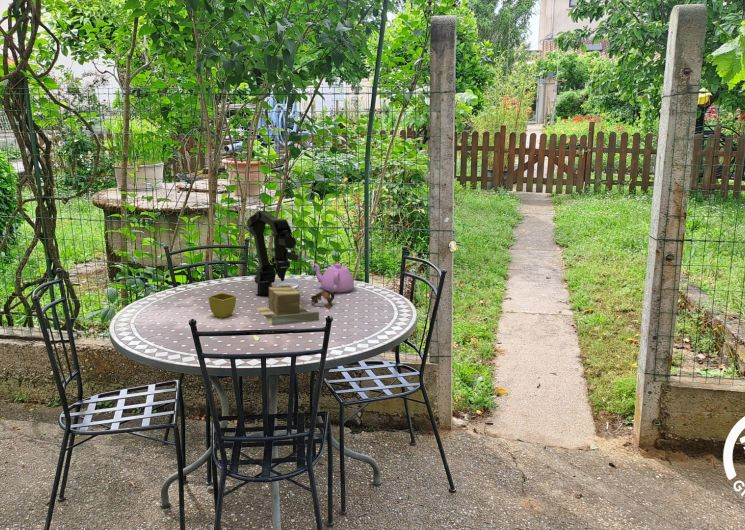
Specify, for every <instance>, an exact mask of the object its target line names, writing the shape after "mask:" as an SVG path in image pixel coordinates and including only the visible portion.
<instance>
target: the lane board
mask: <svg viewBox="0 0 745 530" xmlns="http://www.w3.org/2000/svg"><path fill="white" fill-rule="evenodd" d="M255 309H256V310H257V311H258V312H259V313H260V314H261V315H262V316H263V317H264V319H266V320H267V321H268V322H269V324H271V325H272V326H275V325H276V326H277V325H286V324H294V323H304V322H314V321H319V319H320V312H319V311H308V310H307V309H306V308H305V307H304V306H302V304H300V313H299V314H289V315H279V316H276V315H275V314H274V313H273V312H272V311H271V310H270V309H269V305H267V306H260V307H255Z"/></svg>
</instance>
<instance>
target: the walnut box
mask: <svg viewBox="0 0 745 530" xmlns="http://www.w3.org/2000/svg"><path fill="white" fill-rule="evenodd" d="M300 299H301V293H300V292H299V291H298V290H296V289H295V287H293V286H291V285H290V284H289V285H288V284H287V285H279V286H273V287H269V296H268V306H269V309H270V310H271V311H272V312H273V313H274V314H275V315H276V316H279V315H289V314H299V313H300V305H301V303H300V301H301V300H300Z"/></svg>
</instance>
